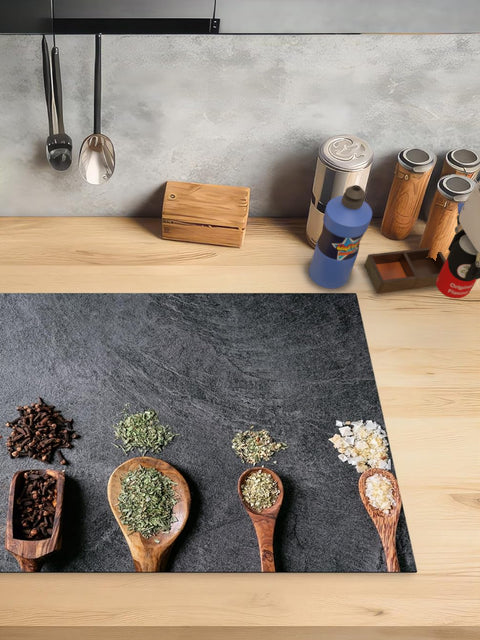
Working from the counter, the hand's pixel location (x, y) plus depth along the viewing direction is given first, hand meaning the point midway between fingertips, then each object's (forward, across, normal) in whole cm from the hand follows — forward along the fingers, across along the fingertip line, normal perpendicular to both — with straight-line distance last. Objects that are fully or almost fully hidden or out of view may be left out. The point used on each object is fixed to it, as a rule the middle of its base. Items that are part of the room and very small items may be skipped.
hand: (464, 263), depth 134 cm
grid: (+25, +20, -4) cm, 32 cm away
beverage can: (+7, 0, 0) cm, 7 cm away
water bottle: (+25, +23, +12) cm, 36 cm away
